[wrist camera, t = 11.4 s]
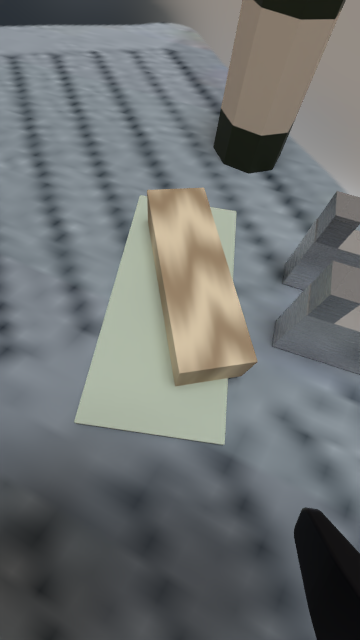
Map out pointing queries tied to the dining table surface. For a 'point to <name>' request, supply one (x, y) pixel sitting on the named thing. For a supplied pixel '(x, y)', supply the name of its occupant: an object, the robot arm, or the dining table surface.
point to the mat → (149, 353)
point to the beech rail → (196, 289)
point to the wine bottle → (270, 77)
